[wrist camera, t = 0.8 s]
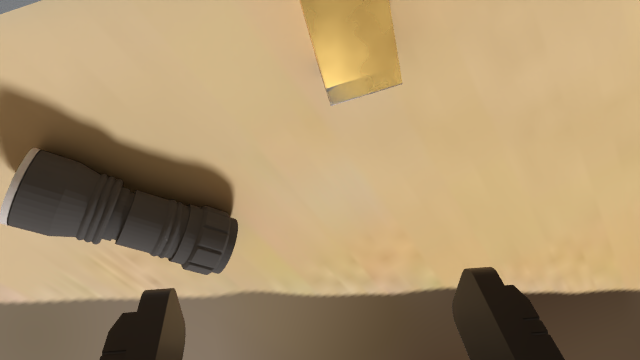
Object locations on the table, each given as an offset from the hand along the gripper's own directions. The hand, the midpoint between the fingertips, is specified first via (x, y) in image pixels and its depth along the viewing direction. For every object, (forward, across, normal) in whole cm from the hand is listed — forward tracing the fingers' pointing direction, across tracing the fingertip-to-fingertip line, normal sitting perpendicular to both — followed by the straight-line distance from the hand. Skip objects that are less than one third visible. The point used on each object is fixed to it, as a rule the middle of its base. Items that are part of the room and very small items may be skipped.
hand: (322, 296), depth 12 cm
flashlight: (+20, +12, +12) cm, 27 cm away
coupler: (+20, -3, -2) cm, 21 cm away
